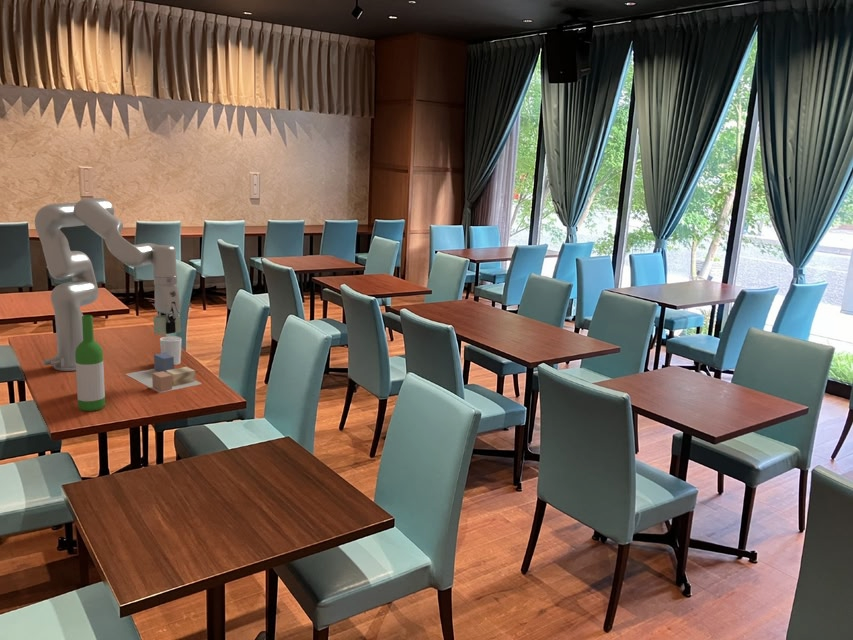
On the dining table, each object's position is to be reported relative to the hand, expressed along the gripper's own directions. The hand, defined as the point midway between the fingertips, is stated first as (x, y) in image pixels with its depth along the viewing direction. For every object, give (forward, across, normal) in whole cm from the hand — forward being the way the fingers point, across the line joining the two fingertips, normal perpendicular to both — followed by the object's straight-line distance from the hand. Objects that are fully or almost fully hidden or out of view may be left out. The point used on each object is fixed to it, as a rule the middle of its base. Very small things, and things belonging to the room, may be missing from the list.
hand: (167, 331), depth 243 cm
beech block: (+18, -4, -2) cm, 19 cm away
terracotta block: (+18, -7, +6) cm, 20 cm away
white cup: (+18, +18, -10) cm, 28 cm away
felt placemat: (+18, +2, +1) cm, 18 cm away
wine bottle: (+18, -11, +32) cm, 38 cm away
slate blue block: (+18, +10, -3) cm, 21 cm away
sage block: (0, 0, 0) cm, 0 cm away
